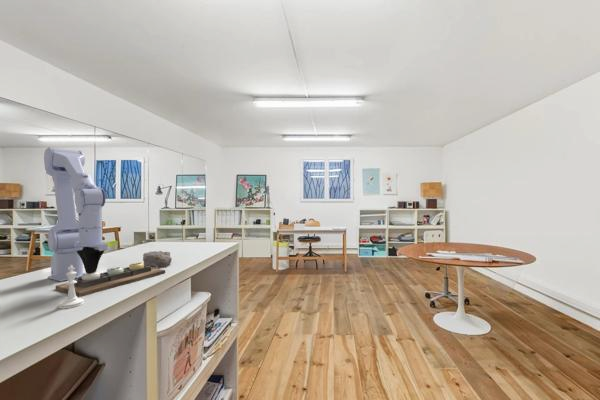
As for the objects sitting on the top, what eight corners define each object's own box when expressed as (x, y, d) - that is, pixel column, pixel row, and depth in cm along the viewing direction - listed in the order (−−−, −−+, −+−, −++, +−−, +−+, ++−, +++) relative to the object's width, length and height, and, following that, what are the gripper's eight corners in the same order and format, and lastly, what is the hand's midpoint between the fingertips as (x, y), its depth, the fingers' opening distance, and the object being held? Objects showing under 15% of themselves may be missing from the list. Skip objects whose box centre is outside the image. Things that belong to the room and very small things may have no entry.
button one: (78, 281, 82) (78, 273, 82) (95, 278, 86) (95, 269, 86) (86, 283, 80) (86, 275, 80) (103, 279, 84) (103, 271, 84)
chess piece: (69, 309, 66) (69, 268, 66) (53, 307, 67) (52, 267, 67) (89, 301, 71) (88, 263, 71) (73, 300, 72) (73, 262, 72)
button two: (104, 277, 88) (104, 269, 88) (118, 273, 92) (118, 265, 92) (112, 278, 86) (112, 270, 86) (126, 275, 90) (126, 267, 90)
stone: (172, 266, 108) (172, 251, 108) (143, 270, 102) (143, 255, 102) (169, 262, 115) (169, 248, 114) (142, 266, 109) (142, 251, 109)
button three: (126, 271, 95) (126, 264, 95) (139, 268, 98) (138, 261, 98) (134, 273, 93) (134, 265, 93) (146, 270, 96) (146, 262, 96)
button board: (55, 289, 81) (55, 280, 81) (141, 268, 104) (140, 261, 104) (80, 296, 75) (80, 286, 74) (165, 273, 98) (165, 265, 98)
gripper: (62, 228, 83) (63, 272, 83) (88, 230, 76) (88, 278, 76) (89, 226, 89) (89, 267, 89) (115, 227, 82) (115, 272, 82)
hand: (91, 272), depth 83 cm, fingers closed, pressing on button one
